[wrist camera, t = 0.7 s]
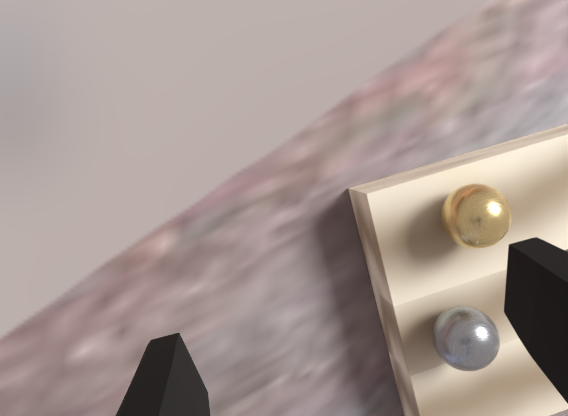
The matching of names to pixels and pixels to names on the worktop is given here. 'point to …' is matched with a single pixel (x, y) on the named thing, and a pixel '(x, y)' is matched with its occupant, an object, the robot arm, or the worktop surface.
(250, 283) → the worktop surface
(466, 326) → the steel ball
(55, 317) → the worktop surface
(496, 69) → the worktop surface
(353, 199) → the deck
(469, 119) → the worktop surface
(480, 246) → the brass ball
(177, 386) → the robot arm
